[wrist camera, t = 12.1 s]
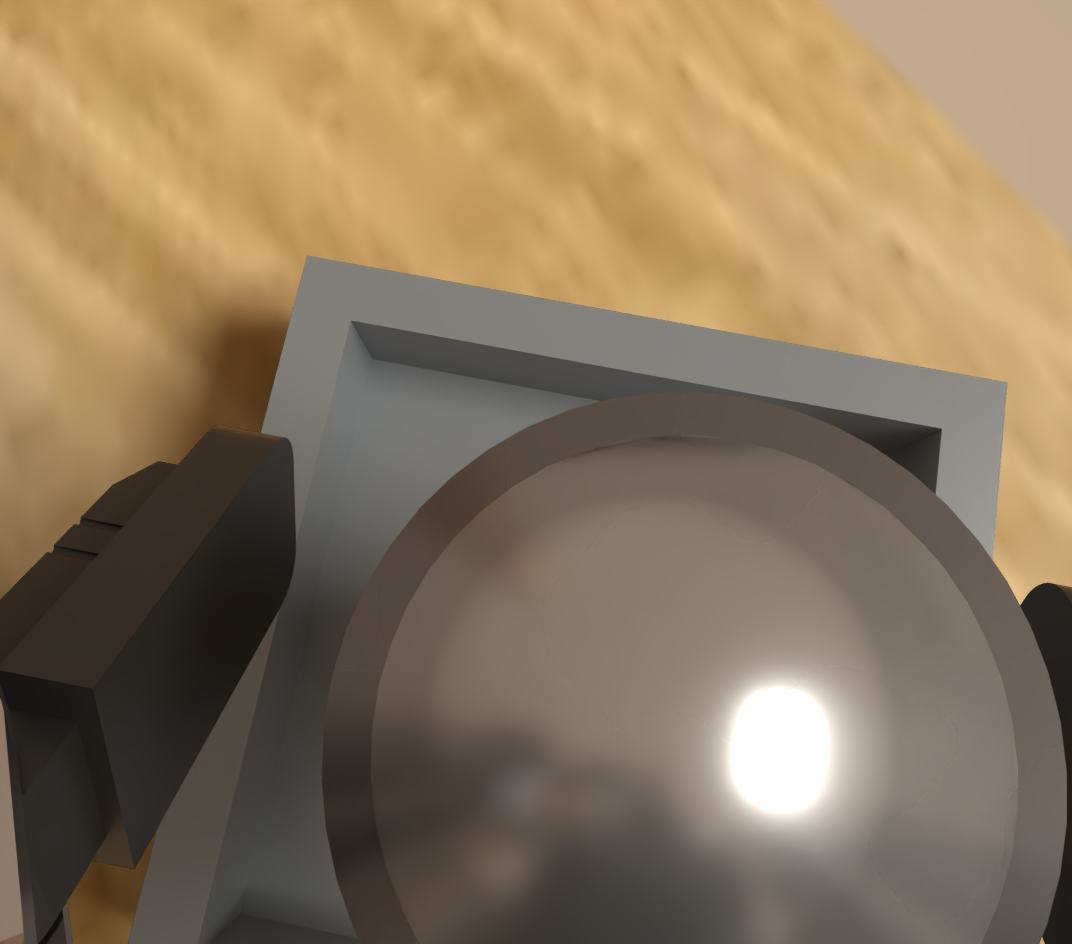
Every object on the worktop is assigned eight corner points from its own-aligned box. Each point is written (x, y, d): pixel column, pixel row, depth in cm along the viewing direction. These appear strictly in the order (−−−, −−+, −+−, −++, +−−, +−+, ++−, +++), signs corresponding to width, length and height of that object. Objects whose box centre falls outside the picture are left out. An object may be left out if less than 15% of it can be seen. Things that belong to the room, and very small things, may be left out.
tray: (189, 945, 15) (108, 1019, 12) (344, 321, 17) (307, 255, 14) (857, 1082, 15) (940, 1193, 12) (924, 426, 17) (1007, 382, 14)
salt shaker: (434, 786, 15) (236, 1081, 5) (487, 528, 16) (411, 335, 6) (696, 839, 14) (1038, 1254, 5) (734, 575, 15) (1088, 459, 6)
